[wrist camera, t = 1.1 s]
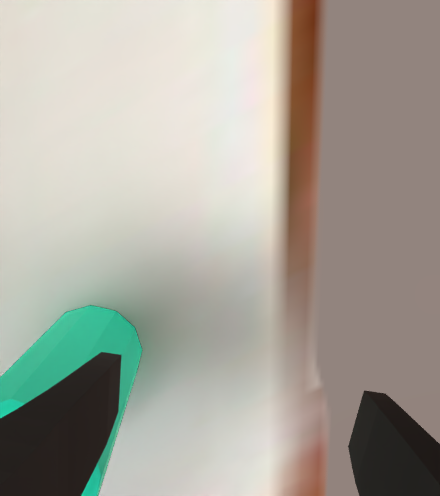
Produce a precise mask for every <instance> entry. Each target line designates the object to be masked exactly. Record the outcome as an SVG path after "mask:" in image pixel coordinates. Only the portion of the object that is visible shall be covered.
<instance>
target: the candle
mask: <svg viewBox="0 0 440 496" xmlns="http://www.w3.org/2000/svg"><path fill="white" fill-rule="evenodd" d="M101 352H106V353H112V354H119V355H121V374H120V393H119V411H118V414H117V417H116V420H115V423H114V426H113V429H112V431H111V434H110V437H109V439H108V442H107V445H106V447H105V449H104V451H103V453H102V455H101V457H100V459H99V461H98V463H97V465H96V467H95V469H94V471H93V473H92V475H91V477H90V479H89V481H88V483H87V485H86V487H85V489H84V491H83V493H82V495H81V496H98V495H99V492H100V488H101V485H102V482H103V479H104V476H105V472H106V469H107V466H108V463H109V460H110V456H111V453H112V450H113V447H114V444H115V440H116V437H117V434H118V431H119V428H120V424H121V421H122V418H123V415H124V412H125V408H126V405H127V402H128V399H129V396H130V392H131V389H132V386H133V383H134V379H135V376H136V373H137V369H138V365H139V361H140V357H141V353H142V348H141V345H140V342H139V338H138V335H137V332H136V329H135V327H134V326H133V325H132V324H130V323H129V322H128V321H127V320H126V319H125V318H124V317H122V316H121V315H120V314H119V313H118V312H117V311H114V310H110V309H105V308H101V307H97V306H92V305H90V306H86V307H82V308H79V309H75V310H71V311H68V312H66V313H65V314H64V315H63V316H62V317H61V318H60V319H59V320H58V321H57V322H56V323H55V324H54V325H53V326H52V327H51V328H50V329H49V330H48V331H47V332H46V333H45V334H43V335H42V336H41V337H40V338H39V339H38V340H37V341H36V342H35V343H34V344H33V345H32V346H31V347H30V348H29V349H28V350H27V351H26V352H25V353H24V354H23V355H22V356H21V357H20V358H19V359H18V360H17V361H16V362H15V363H14V364H13V365H12V366H11V367H10V368H9V369H8V370H7V371H6V372H5V373H4V374H3V375H2V376H1V377H0V418H2V417H4V416H5V415H7V414H9V413H11V412H13V411H14V410H16V409H18V408H19V407H21V406H22V405H24V404H26V403H27V402H29V401H30V400H32V399H34V398H35V397H37V396H38V395H40V394H42V393H43V392H45V391H46V390H48V389H49V388H51V387H52V386H54V385H55V384H57V383H58V382H60V381H61V380H62V379H64V378H65V377H67V376H68V375H70V374H71V373H72V372H74V371H75V370H77V369H78V368H79V367H81V366H82V365H84V364H85V363H86V362H88V361H89V360H91V359H92V358H93V357H95V356H96V355H98V354H99V353H101Z"/></svg>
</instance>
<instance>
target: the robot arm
mask: <svg viewBox="0 0 440 496" xmlns="http://www.w3.org/2000/svg"><path fill="white" fill-rule="evenodd" d="M120 374H121V355H119V354H112V353H106V352H101V353H99V354H98V355H96V356H95V357H93V358H92V359H91V360H89V361H88V362H86V363H85V364H84V365H82V366H81V367H79V368H78V369H77V370H75V371H74V372H72V373H71V374H70V375H68V376H67V377H65V378H64V379H62V380H61V381H60V382H58V383H57V384H55V385H54V386H52V387H51V388H49V389H48V390H46V391H45V392H43V393H42V394H40V395H38V396H37V397H35V398H34V399H32V400H30V401H29V402H27V403H26V404H24V405H22V406H21V407H19V408H18V409H16V410H14V411H13V412H11V413H9V414H7V415H5V416H4V417H2V418H0V496H81V495H82V493H83V491H84V489H85V487H86V485H87V483H88V481H89V479H90V477H91V475H92V473H93V471H94V469H95V467H96V465H97V463H98V461H99V459H100V457H101V455H102V453H103V451H104V449H105V447H106V445H107V442H108V439H109V437H110V434H111V431H112V429H113V426H114V423H115V420H116V417H117V414H118V411H119V393H120ZM348 447H349V452H350V458H351V463H352V469H353V473H354V478H355V483H356V486H357V489H358V492H359V496H440V444H439V443H438V442H436V440H435V439H434V438H433V437H431V436H430V435H429V434H428V433H427V432H426V431H425V430H424V429H423V428H422V427H421V426H420V425H418V423H417V422H416V421H415V420H413V419H412V418H411V417H410V416H409V415H408V414H407V413H406V412H405V411H404V410H403V409H402V408H401V407H399V405H397V404H396V403H395V402H394V401H393V400H392V399H391V398H390V397H388V396H387V395H386V394H384V393H377V392H370V391H364V394H363V396H362V400H361V403H360V407H359V410H358V414H357V418H356V421H355V425H354V428H353V432H352V435H351V439H350V443H349V446H348Z"/></svg>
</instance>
